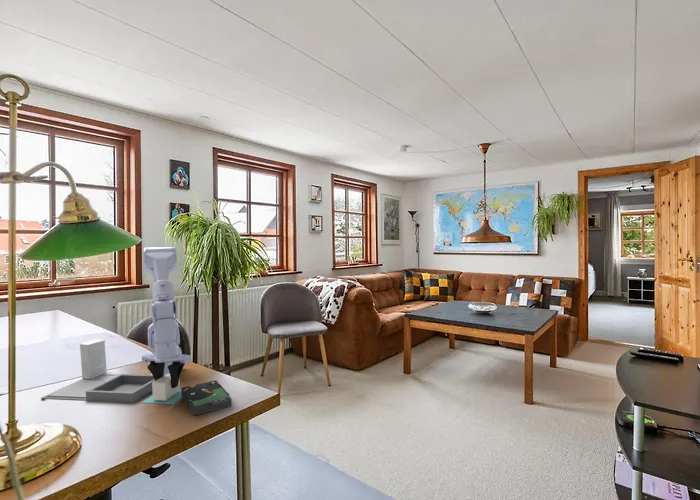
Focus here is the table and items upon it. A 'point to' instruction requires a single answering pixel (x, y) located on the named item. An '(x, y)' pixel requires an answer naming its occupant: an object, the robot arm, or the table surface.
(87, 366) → the skincare box
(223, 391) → the disk drive
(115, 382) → the case
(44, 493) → the table surface
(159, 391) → the block
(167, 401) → the teal pad
